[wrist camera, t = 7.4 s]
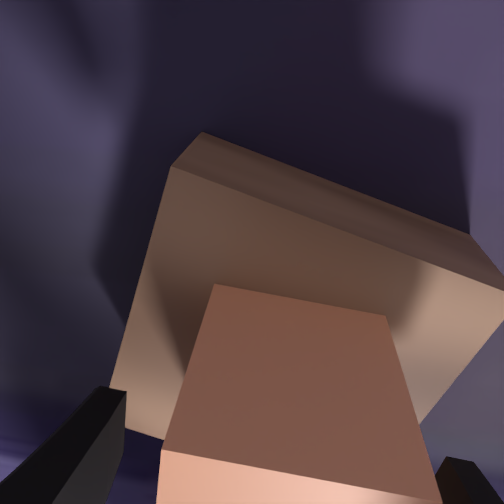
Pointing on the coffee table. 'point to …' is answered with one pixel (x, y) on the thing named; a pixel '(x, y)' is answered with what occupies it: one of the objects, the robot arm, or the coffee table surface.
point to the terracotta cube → (293, 410)
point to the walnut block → (298, 272)
